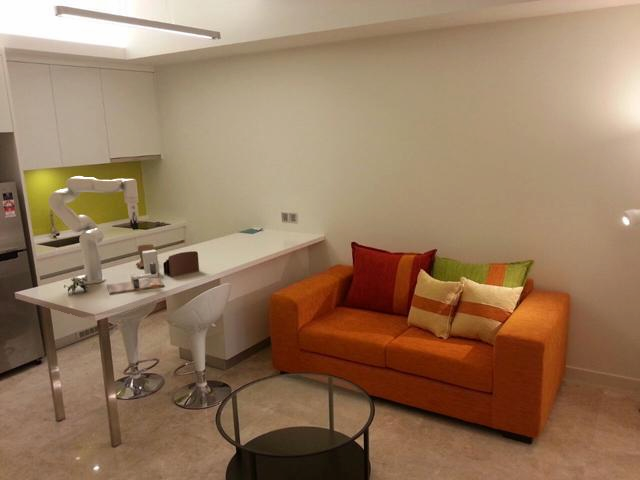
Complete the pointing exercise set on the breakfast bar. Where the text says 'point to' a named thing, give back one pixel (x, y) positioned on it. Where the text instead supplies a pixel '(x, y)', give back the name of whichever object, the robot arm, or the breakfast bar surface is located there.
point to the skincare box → (150, 260)
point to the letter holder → (181, 264)
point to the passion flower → (78, 282)
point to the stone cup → (140, 249)
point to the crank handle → (152, 274)
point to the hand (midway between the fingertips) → (134, 228)
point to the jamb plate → (130, 286)
